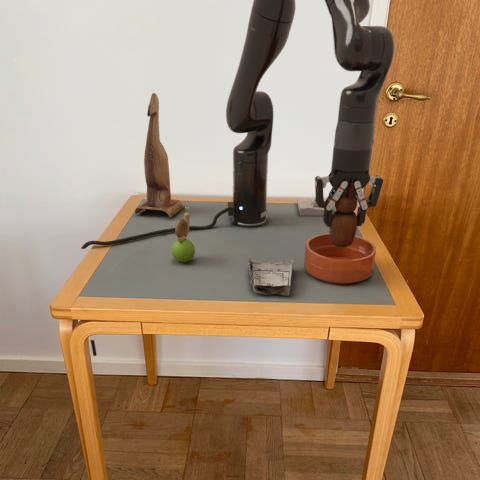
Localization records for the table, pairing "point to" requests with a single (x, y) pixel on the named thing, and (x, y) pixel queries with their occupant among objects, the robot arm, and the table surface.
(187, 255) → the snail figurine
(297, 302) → the table surface
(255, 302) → the table surface
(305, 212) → the grey stone carving
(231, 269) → the table surface
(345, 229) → the wooden figurine
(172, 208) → the bird sculpture
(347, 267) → the bowl
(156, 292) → the table surface
